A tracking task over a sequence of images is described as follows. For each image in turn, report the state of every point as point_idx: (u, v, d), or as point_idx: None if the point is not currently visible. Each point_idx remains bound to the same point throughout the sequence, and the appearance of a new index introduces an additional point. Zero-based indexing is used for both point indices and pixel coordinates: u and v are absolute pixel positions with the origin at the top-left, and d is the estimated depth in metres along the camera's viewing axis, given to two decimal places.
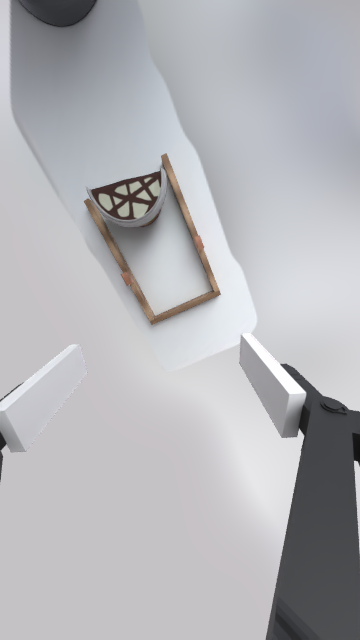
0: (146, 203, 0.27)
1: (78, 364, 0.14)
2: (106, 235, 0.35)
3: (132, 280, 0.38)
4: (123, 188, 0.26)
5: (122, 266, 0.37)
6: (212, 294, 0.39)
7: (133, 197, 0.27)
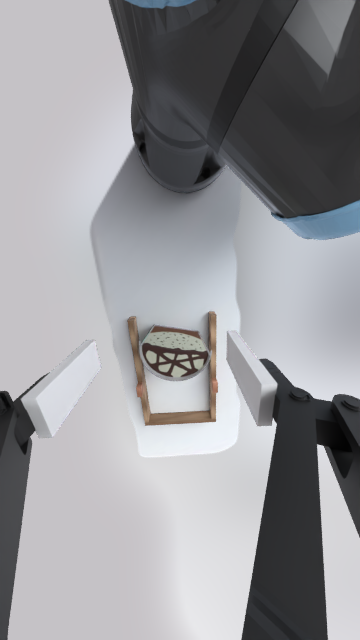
0: (186, 369, 0.30)
1: (94, 359, 0.14)
2: (136, 351, 0.36)
3: (143, 389, 0.39)
4: (171, 355, 0.29)
5: (139, 377, 0.38)
6: (208, 419, 0.43)
7: (176, 362, 0.29)
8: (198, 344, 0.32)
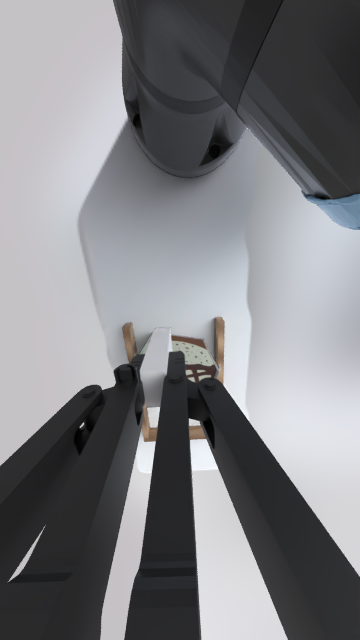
0: None
1: None
2: None
3: None
4: None
5: None
6: None
7: None
8: (204, 356, 0.27)
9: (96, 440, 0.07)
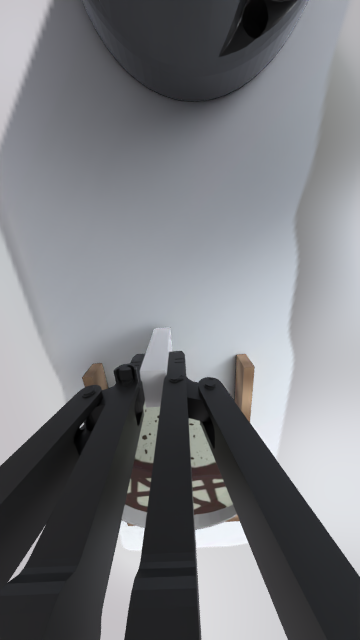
0: (198, 503, 0.13)
1: None
2: None
3: None
4: None
5: None
6: None
7: None
8: None
9: (96, 440, 0.07)
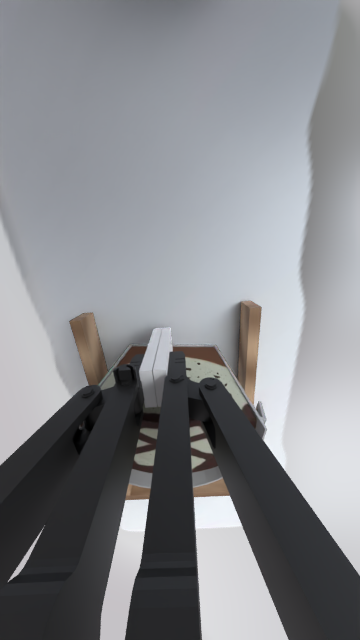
0: (202, 456, 0.12)
1: None
2: (94, 381, 0.18)
3: None
4: None
5: None
6: None
7: None
8: (223, 384, 0.14)
9: (95, 440, 0.07)
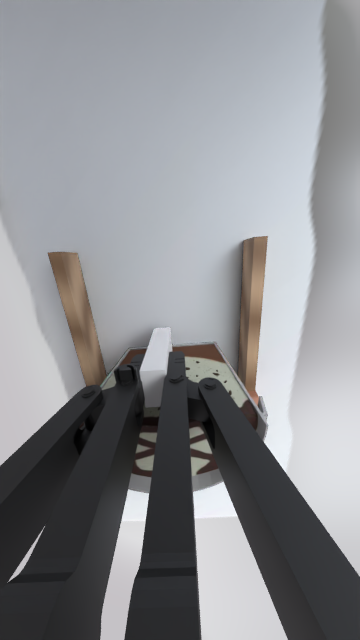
0: (206, 457, 0.12)
1: None
2: (78, 330, 0.16)
3: None
4: None
5: None
6: None
7: None
8: (222, 381, 0.13)
9: (96, 440, 0.07)
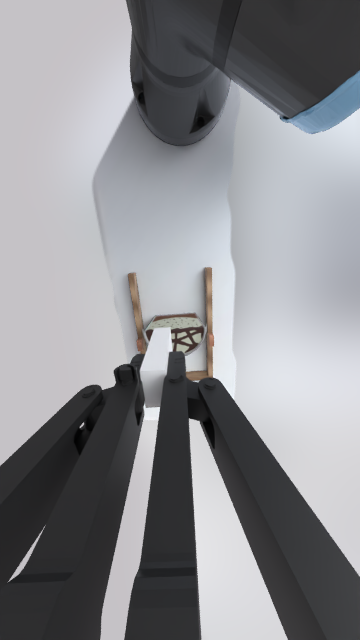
0: (188, 345, 0.34)
1: None
2: (136, 305, 0.38)
3: (143, 345, 0.41)
4: (172, 335, 0.33)
5: (139, 332, 0.40)
6: (206, 377, 0.44)
7: (178, 340, 0.34)
8: (195, 322, 0.35)
9: (96, 440, 0.07)
